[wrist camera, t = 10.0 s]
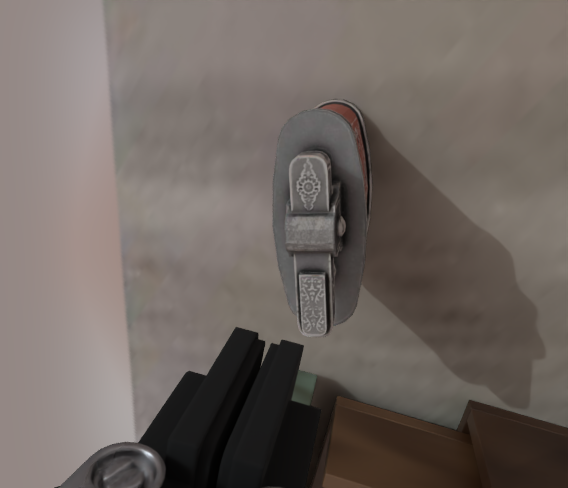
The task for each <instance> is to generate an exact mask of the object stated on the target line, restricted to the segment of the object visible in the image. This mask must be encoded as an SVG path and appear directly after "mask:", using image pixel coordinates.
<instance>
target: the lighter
mask: <svg viewBox="0 0 568 488" xmlns="http://www.w3.org/2000/svg"><path fill="white" fill-rule="evenodd" d="M372 185H373V181H372V169H371V156H370V147H369V143H368V138H367V133H366V128H365V123H364V118H363V116H362V113H361V111H360V110H359V109H358V108H357V107H356V106H355V105H354V104H353V103H351V102H348V101H346V100H340V99H333V100H328V101H325V102H323V103H321V104H319V105H318V106H316V107H315V108H314V109H310V110H305V111H302V112H300V113H299V114H297V115H295V116H293V117H292V118H290V119H289V120H288V121H287V123H286V124H285V125H284V126H283V127H282V129H281V132H280V135H279V138H278V144H277V152H276V160H275V168H274V176H273V232H274V239H275V246H276V253H277V260H278V267H279V271H280V275H281V279H282V282H283V286H284V290H285V293H286V297H287V301H288V304H289V306H290V308H291V310H292V312H293V314H295V315H296V316H297V323H298V328H299V330H300V332H301V333H302V334H303V335H305V336H308V337H318V338H319V337H326V336H328V335H330V333H331V331H332V328H333V326H336V325H338V324H341V323H343V322H345V321H346V320H347V319H349V318H350V317H351V316H352V315H353V313H354V311H355V309H356V306H357V302H358V297H359V292H360V287H361V282H362V276H363V271H364V265H365V253H366V238H367V232H368V227H369V222H370V215H371V200H372Z"/></svg>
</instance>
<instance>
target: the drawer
mask: <svg viewBox="0 0 568 488" xmlns="http://www.w3.org/2000/svg"><path fill="white" fill-rule="evenodd" d="M316 380H317V375H315V374H312V373H308V372H305V371H301V370H298V374H297V378H296V383H295V387H294V391H293V396H292V401H295V402H299V403H302V404H306V405H309V406H311V402H312V398H313V393H314V389H315V384H316ZM310 488H483V487H482V483H481V478H480V474H479V470H478V466H477V461H476V457H475V453H474V448H473V444H472V440H471V435H469V434H465V433H462V432H458V431H455V430H452V429H448V428H445V427H442V426H438V425H435V424H431V423H428V422H425V421H421V420H418V419H415V418H411V417H408V416H404V415H401V414H398V413H394V412H391V411H388V410H384V409H381V408H377V407H374V406H371V405H367V404H364V403H361V402H357V401H354V400H350V399H347V398H344V397H340V396H337V399H336V402H335V405H334V409H333V412H332V415H331V419H330V422H329V425H328V429H327V432H326V436H325V439H324V442H323V446H322V449H321V452H320V456H319V459H318V463H317V466H316V469H315V473H314V476H313V479H312V483H311V486H310Z"/></svg>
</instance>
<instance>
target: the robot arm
mask: <svg viewBox="0 0 568 488" xmlns="http://www.w3.org/2000/svg"><path fill="white" fill-rule="evenodd" d="M264 347H265V341H263V340H259V339H258V333H256V332H253V331H249V330H245V329H242V328H238V327H236V328H235V329H234V331H233V333H232V334H231V336H230V338H229V339H228V341H227V343H226V344H225V346H224V348H223V349H222V351H221V353H220V354H219V356H218V357H217V359H216V361H215V362H214V364H213V366H212V367H211V369H210V371H209V372H208V374H207V376H205V375H202V374H198V373H195V372H191V371H188V372H186V374H185V375H184V376H183V378H182V379H181V381H180V382H179V383H178V385H177V386H176V388H175V389H174V391H173V392H172V394H171V395H170V397H169V398H168V400H167V401H166V403H165V404H164V406H163V407H162V408H161V410H160V411H159V413H158V414H157V416H156V417H155V419H154V420H153V422H152V423H151V425H150V426H149V428H148V429H147V431H146V432H145V434H144V435H143V436H142V438H141V439H140V441H139V442H138V443H134V442H122V443H116V444H112V445H109V446H107V447H104V448H102V449H100V450H99V451H97V452H96V453H95V454H93V455H92V456H91V457H90V458H89V459H88V460H87V461H86V462H84V463H83V464H82V465H81V466H80V467H79V468H78V469H77V470H76V471H75V472H74V473H73V474H72V475H71V476H70V477H69V478H68V479H67V480H66V481H65V482H64V483H63V484H62V485H61V486H58V487H55V488H305V485H306V480H307V475H308V471H309V466H310V461H311V456H312V452H313V447H314V442H315V437H316V433H317V428H318V423H319V418H320V414H321V409H320V408H316V407H313V406H309V405H306V404H302V403H299V402H295V401H292V396H293V391H294V387H295V383H296V378H297V374H298V370H299V365H300V361H301V357H302V352H303V348H304V345H300V344H297V343H293V342H289V341H286V340H281V342H280V345H277V344H274V343H271V345H270V348H269V350H268V352H267V354H266V357H265V359H264V361H263V363H262V366H261V362H262V357H263V352H264ZM260 367H261V368H260Z"/></svg>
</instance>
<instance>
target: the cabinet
mask: <svg viewBox="0 0 568 488" xmlns="http://www.w3.org/2000/svg"><path fill="white" fill-rule="evenodd" d="M457 431H458V432H462V433H465V434H469V435H471V440H472V444H473V448H474V453H475V457H476V461H477V466H478V470H479V474H480V478H481V483H482V487H483V488H568V428H565V427H562V426H558V425H555V424H551V423H548V422H544V421H541V420H537V419H534V418H531V417H527V416H524V415H520V414H517V413H513V412H510V411H506V410H503V409H499V408H496V407H492V406H489V405H486V404H482V403H479V402H475V401H472V400H469V402H468V405H467V407H466V410H465V412H464V414H463V417H462V419H461V422H460V424H459V427H458V429H457Z"/></svg>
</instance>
